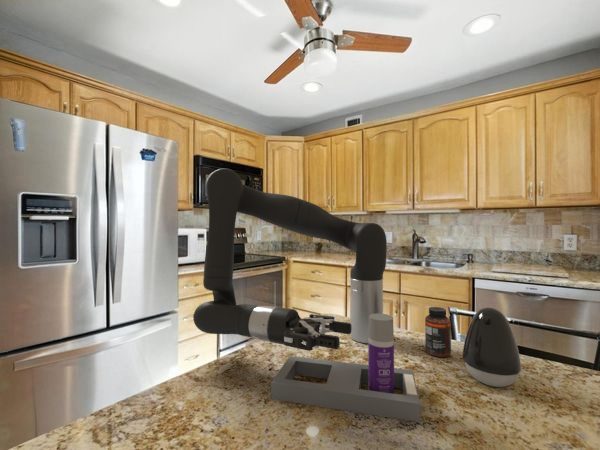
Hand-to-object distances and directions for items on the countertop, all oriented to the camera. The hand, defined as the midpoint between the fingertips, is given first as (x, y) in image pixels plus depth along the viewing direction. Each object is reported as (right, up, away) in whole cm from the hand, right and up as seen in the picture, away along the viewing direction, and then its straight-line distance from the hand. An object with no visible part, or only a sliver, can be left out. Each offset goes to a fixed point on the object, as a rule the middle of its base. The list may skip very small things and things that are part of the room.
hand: (345, 335), depth 59 cm
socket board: (0, -10, -1) cm, 11 cm away
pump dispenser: (+31, -11, +3) cm, 33 cm away
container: (+6, -11, -3) cm, 13 cm away
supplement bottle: (+26, -11, +17) cm, 33 cm away
